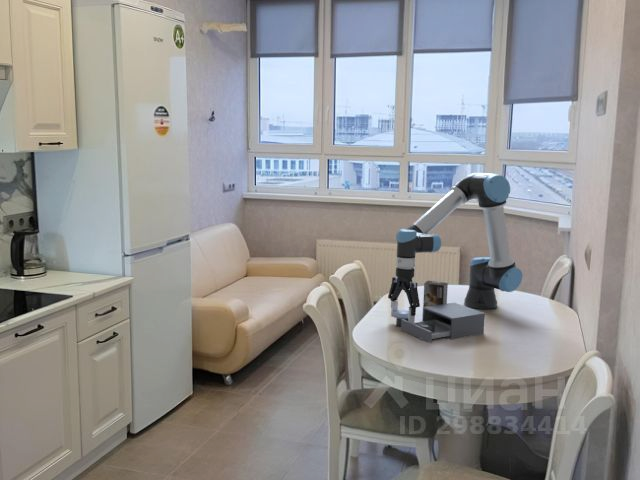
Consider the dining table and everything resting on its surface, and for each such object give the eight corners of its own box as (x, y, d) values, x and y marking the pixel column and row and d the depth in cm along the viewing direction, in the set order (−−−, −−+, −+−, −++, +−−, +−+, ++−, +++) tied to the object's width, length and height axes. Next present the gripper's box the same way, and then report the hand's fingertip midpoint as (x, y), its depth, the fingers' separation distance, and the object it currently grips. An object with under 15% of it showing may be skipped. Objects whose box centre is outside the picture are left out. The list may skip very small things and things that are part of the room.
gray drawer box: (453, 321, 262) (454, 302, 261) (483, 333, 247) (484, 313, 245) (422, 326, 254) (423, 307, 252) (451, 339, 238) (452, 318, 237)
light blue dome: (404, 312, 260) (404, 309, 259) (416, 317, 253) (416, 313, 253) (389, 314, 256) (389, 311, 255) (400, 319, 249) (400, 316, 249)
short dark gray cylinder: (403, 323, 258) (403, 314, 258) (410, 326, 254) (411, 317, 253) (393, 324, 256) (394, 315, 255) (401, 327, 252) (401, 318, 251)
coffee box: (446, 318, 267) (448, 282, 264) (442, 322, 261) (444, 285, 258) (426, 315, 271) (428, 280, 268) (421, 318, 265) (423, 282, 263)
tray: (433, 324, 257) (434, 314, 256) (463, 336, 241) (463, 326, 241) (400, 329, 248) (401, 319, 248) (429, 342, 233) (430, 332, 232)
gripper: (381, 263, 258) (378, 313, 261) (416, 273, 238) (413, 327, 241) (395, 262, 262) (392, 312, 265) (431, 271, 242) (427, 325, 245)
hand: (402, 319), depth 253 cm, fingers open, 11 cm apart
